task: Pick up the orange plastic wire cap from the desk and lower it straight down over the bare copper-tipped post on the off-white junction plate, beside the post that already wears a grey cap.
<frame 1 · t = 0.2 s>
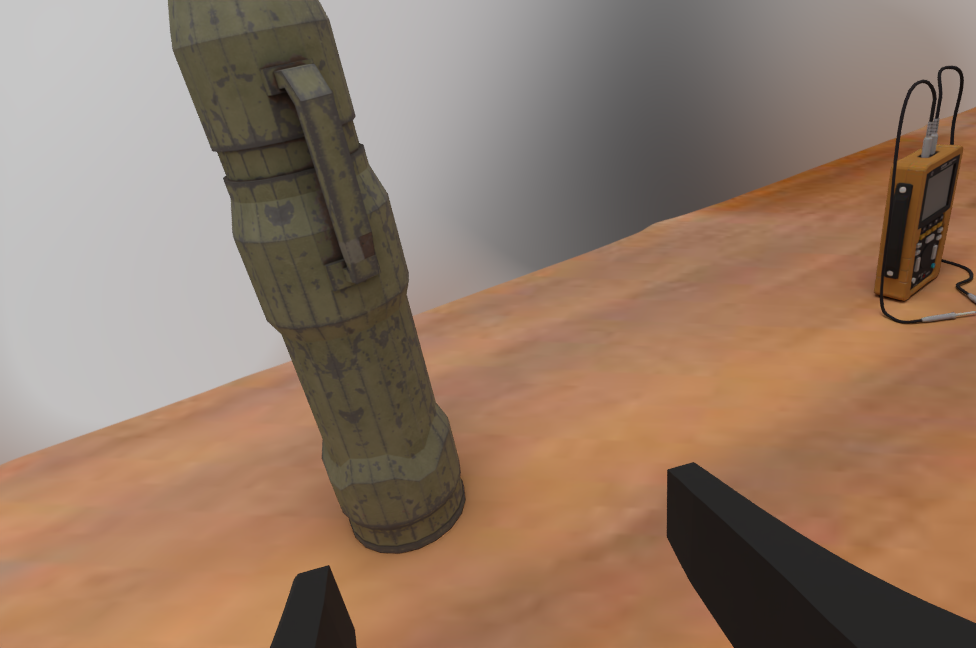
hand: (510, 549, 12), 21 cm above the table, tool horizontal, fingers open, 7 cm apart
multimeter: (948, 297, 55), on the table
thermos: (408, 507, 44), on the table
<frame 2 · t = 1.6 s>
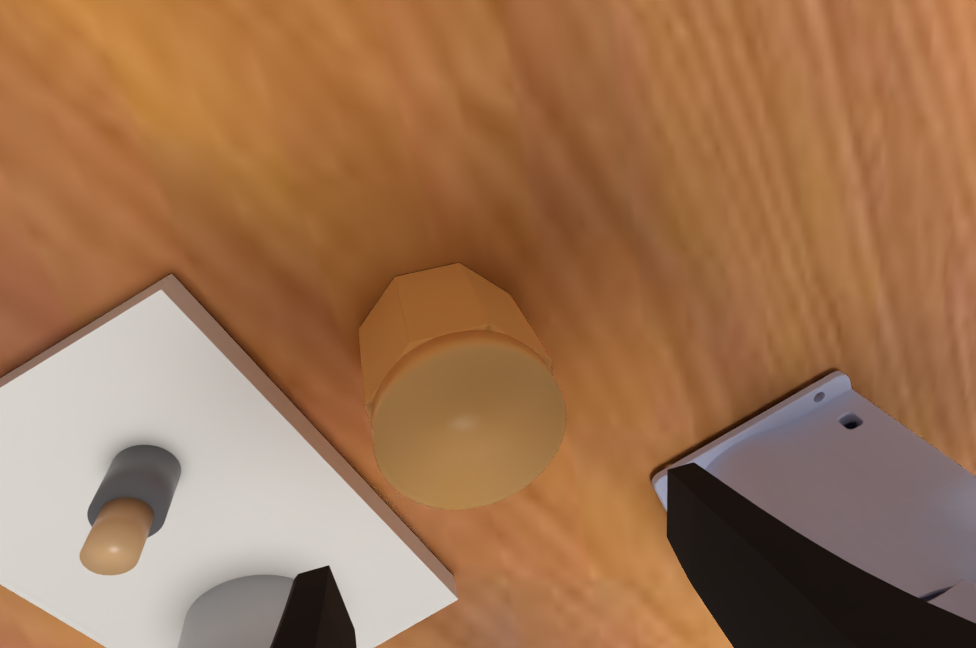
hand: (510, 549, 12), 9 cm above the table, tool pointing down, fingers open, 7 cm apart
wire cap: (441, 338, 20), on the table
junction plate: (213, 528, 22), on the table
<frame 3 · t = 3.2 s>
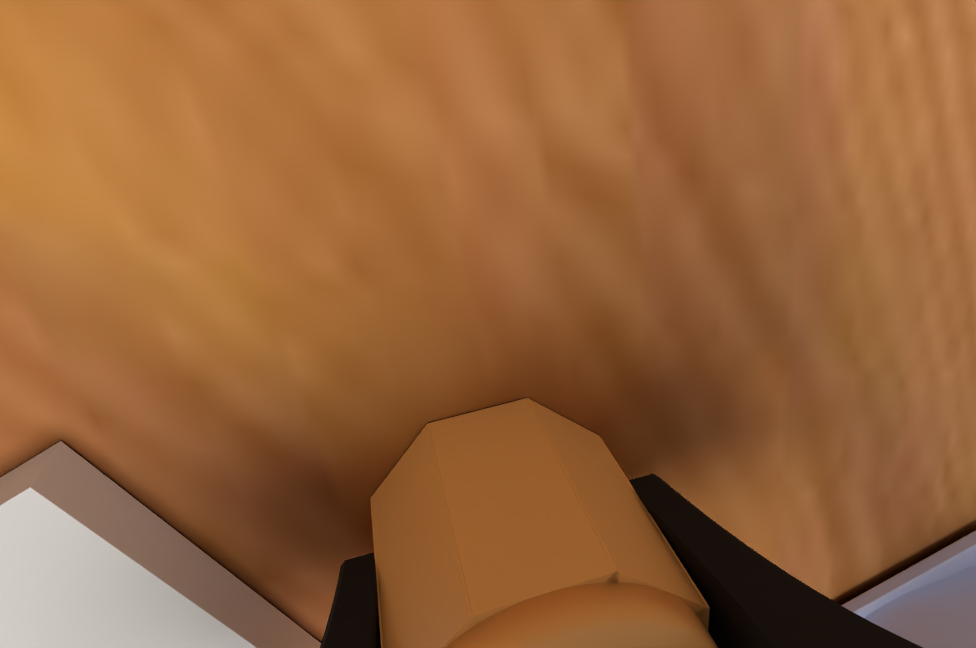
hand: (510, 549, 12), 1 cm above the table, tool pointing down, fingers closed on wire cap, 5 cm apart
wire cap: (494, 501, 13), on the table, touching gripper
when the fingers open (4 cm above the table, at t = 7.2 s): wire cap drops 1 cm, resting on junction plate.
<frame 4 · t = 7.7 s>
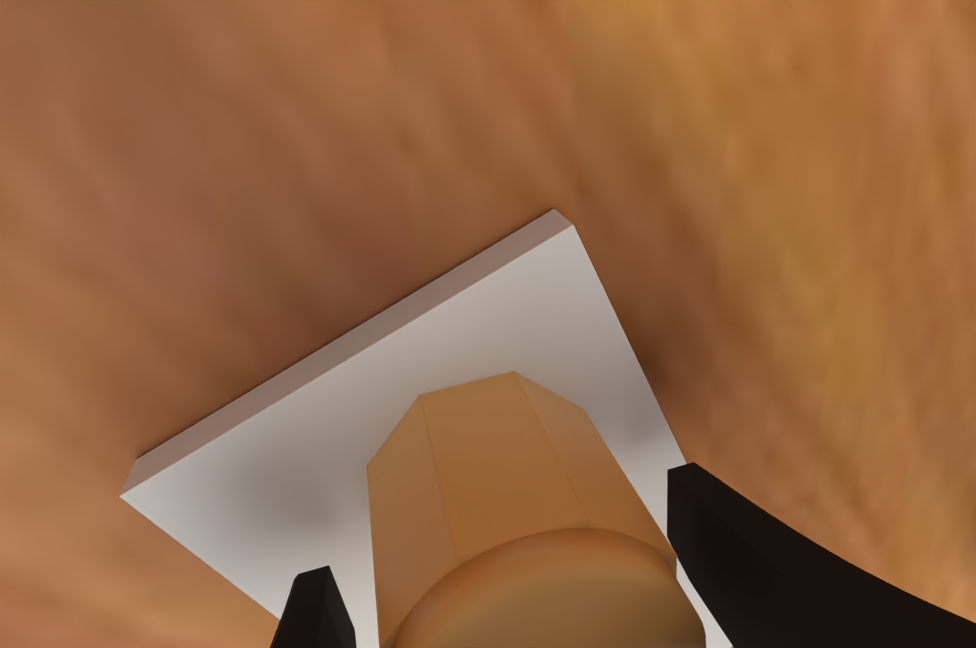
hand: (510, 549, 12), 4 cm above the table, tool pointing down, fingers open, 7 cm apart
wire cap: (484, 470, 14), point 1 cm above the table, touching junction plate
junction plate: (509, 545, 17), on the table
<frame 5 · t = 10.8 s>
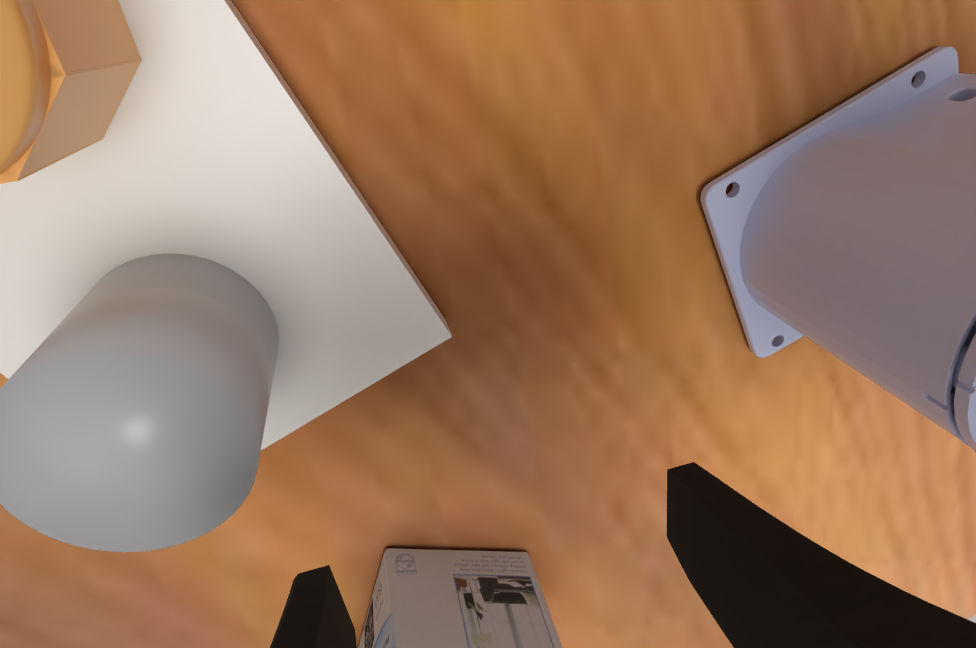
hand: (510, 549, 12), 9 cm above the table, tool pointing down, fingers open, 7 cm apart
junction plate: (119, 193, 16), on the table
light bulb box: (432, 625, 27), on the table
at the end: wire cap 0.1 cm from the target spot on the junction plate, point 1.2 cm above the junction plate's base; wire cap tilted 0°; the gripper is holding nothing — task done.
